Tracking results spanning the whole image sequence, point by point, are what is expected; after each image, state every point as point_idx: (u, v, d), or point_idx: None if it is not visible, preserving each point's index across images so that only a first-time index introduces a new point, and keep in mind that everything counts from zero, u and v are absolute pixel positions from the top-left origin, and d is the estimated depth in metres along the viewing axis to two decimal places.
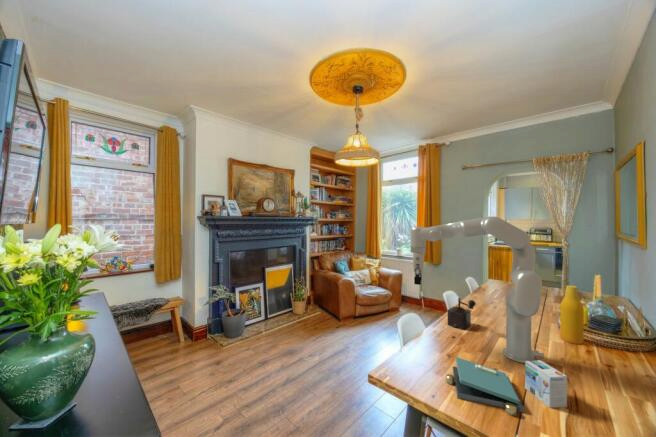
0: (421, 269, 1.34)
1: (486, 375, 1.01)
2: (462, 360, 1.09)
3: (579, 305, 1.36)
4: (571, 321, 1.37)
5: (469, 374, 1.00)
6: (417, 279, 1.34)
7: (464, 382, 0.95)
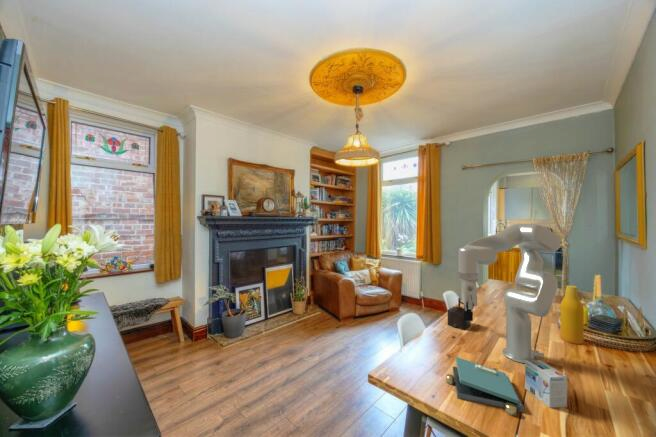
0: (475, 302, 1.06)
1: (486, 375, 1.01)
2: (462, 360, 1.09)
3: (579, 305, 1.36)
4: (571, 321, 1.37)
5: (469, 374, 1.00)
6: (468, 314, 1.10)
7: (464, 382, 0.95)
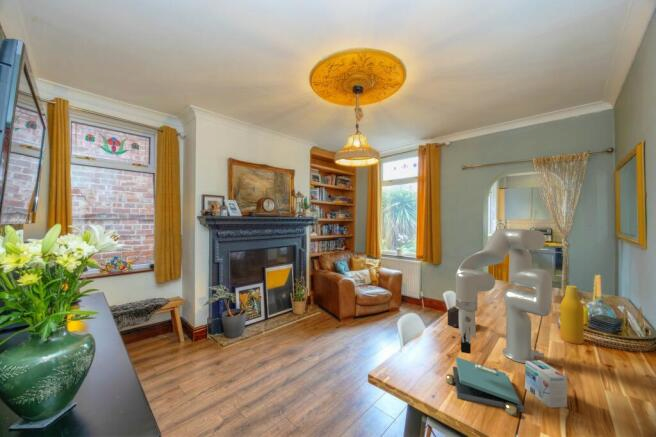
0: (473, 334, 0.97)
1: (486, 375, 1.01)
2: (462, 360, 1.09)
3: (579, 305, 1.36)
4: (571, 321, 1.37)
5: (469, 374, 1.00)
6: (466, 346, 1.01)
7: (464, 382, 0.95)
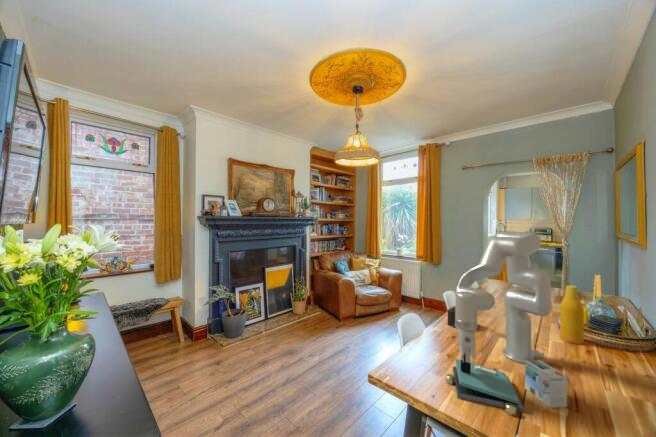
0: (473, 355, 0.97)
1: (486, 376, 1.01)
2: None
3: (579, 305, 1.36)
4: (571, 321, 1.37)
5: (469, 376, 1.00)
6: (465, 366, 1.01)
7: (464, 384, 0.95)
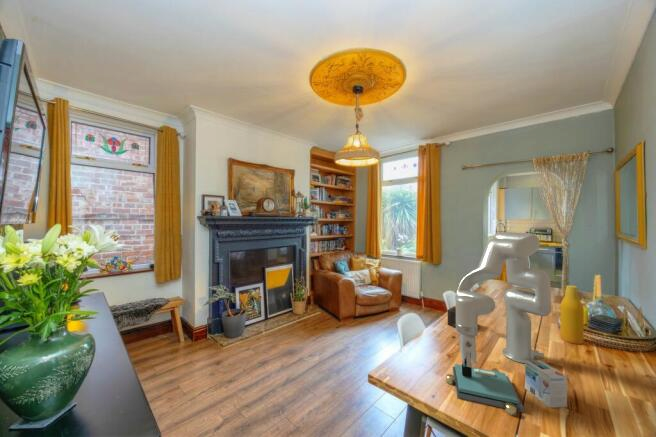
0: (474, 359, 0.97)
1: (485, 378, 1.01)
2: (461, 366, 1.09)
3: (579, 305, 1.36)
4: (571, 321, 1.37)
5: (468, 380, 1.00)
6: (467, 370, 1.01)
7: (463, 390, 0.95)
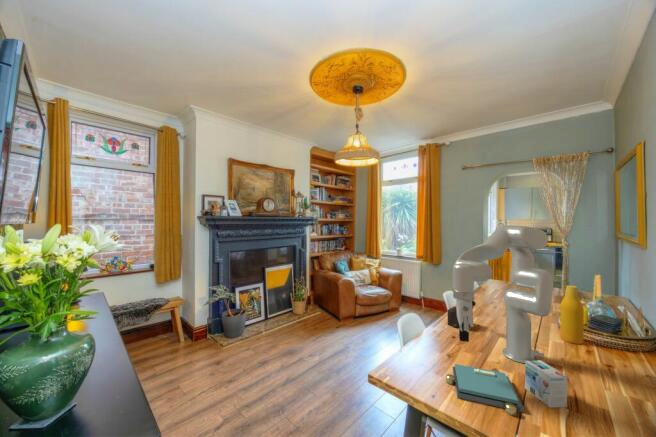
0: (471, 323, 1.00)
1: (485, 378, 1.01)
2: (461, 366, 1.09)
3: (579, 305, 1.36)
4: (571, 321, 1.37)
5: (468, 380, 1.00)
6: (464, 335, 1.04)
7: (463, 390, 0.95)
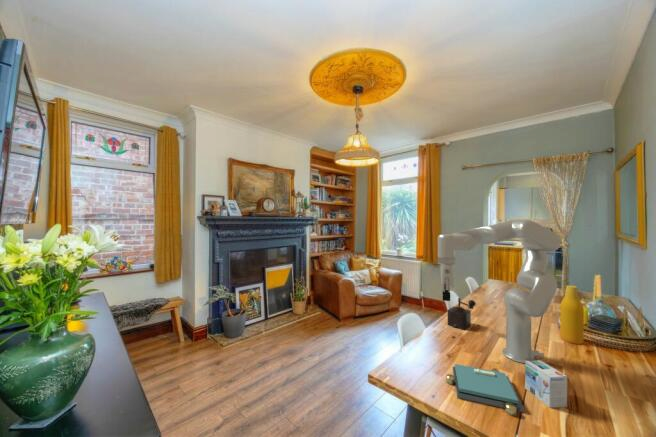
0: (451, 283, 1.17)
1: (485, 378, 1.01)
2: (461, 366, 1.09)
3: (579, 305, 1.36)
4: (571, 321, 1.37)
5: (468, 380, 1.00)
6: (446, 295, 1.21)
7: (463, 390, 0.95)
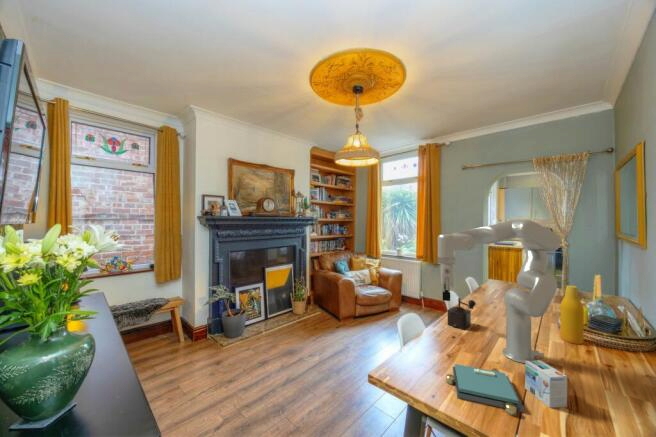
0: (451, 283, 1.17)
1: (485, 378, 1.01)
2: (461, 366, 1.09)
3: (579, 305, 1.36)
4: (571, 321, 1.37)
5: (468, 380, 1.00)
6: (446, 295, 1.21)
7: (463, 390, 0.95)
